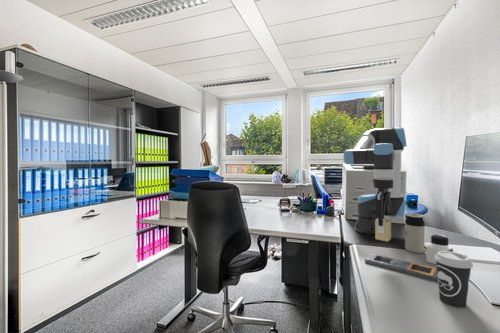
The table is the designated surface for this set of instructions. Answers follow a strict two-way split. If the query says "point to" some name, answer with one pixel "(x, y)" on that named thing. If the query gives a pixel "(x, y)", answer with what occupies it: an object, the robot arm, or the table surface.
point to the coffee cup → (453, 277)
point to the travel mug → (414, 233)
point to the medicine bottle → (437, 247)
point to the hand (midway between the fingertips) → (383, 231)
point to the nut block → (387, 231)
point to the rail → (403, 266)
